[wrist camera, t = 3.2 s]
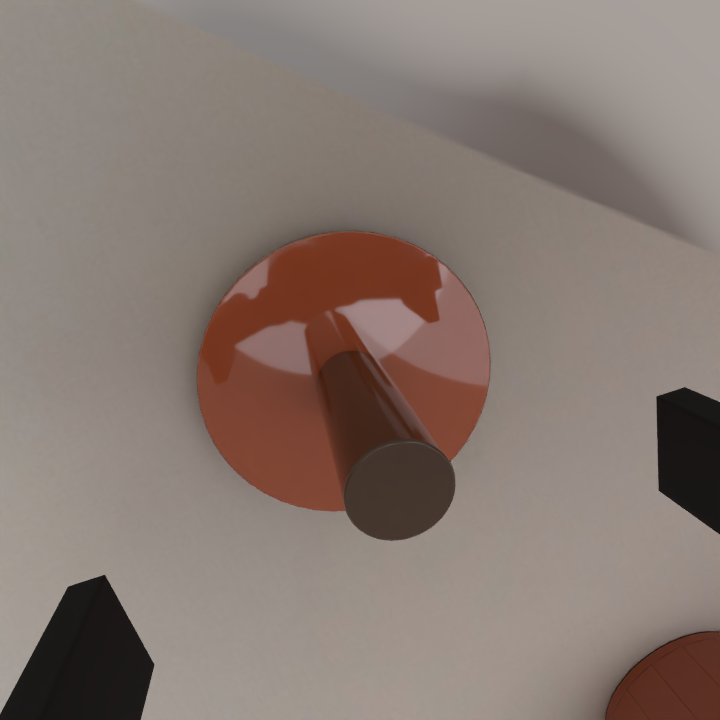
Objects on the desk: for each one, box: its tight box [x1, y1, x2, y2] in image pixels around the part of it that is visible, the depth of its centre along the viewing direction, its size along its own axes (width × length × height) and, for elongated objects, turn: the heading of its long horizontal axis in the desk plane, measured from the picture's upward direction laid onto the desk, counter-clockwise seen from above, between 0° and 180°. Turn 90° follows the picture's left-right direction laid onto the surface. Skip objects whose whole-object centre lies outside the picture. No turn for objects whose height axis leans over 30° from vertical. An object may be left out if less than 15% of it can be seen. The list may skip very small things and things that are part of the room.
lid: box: [197, 231, 490, 541], centre depth 16 cm, size 12×12×9 cm
